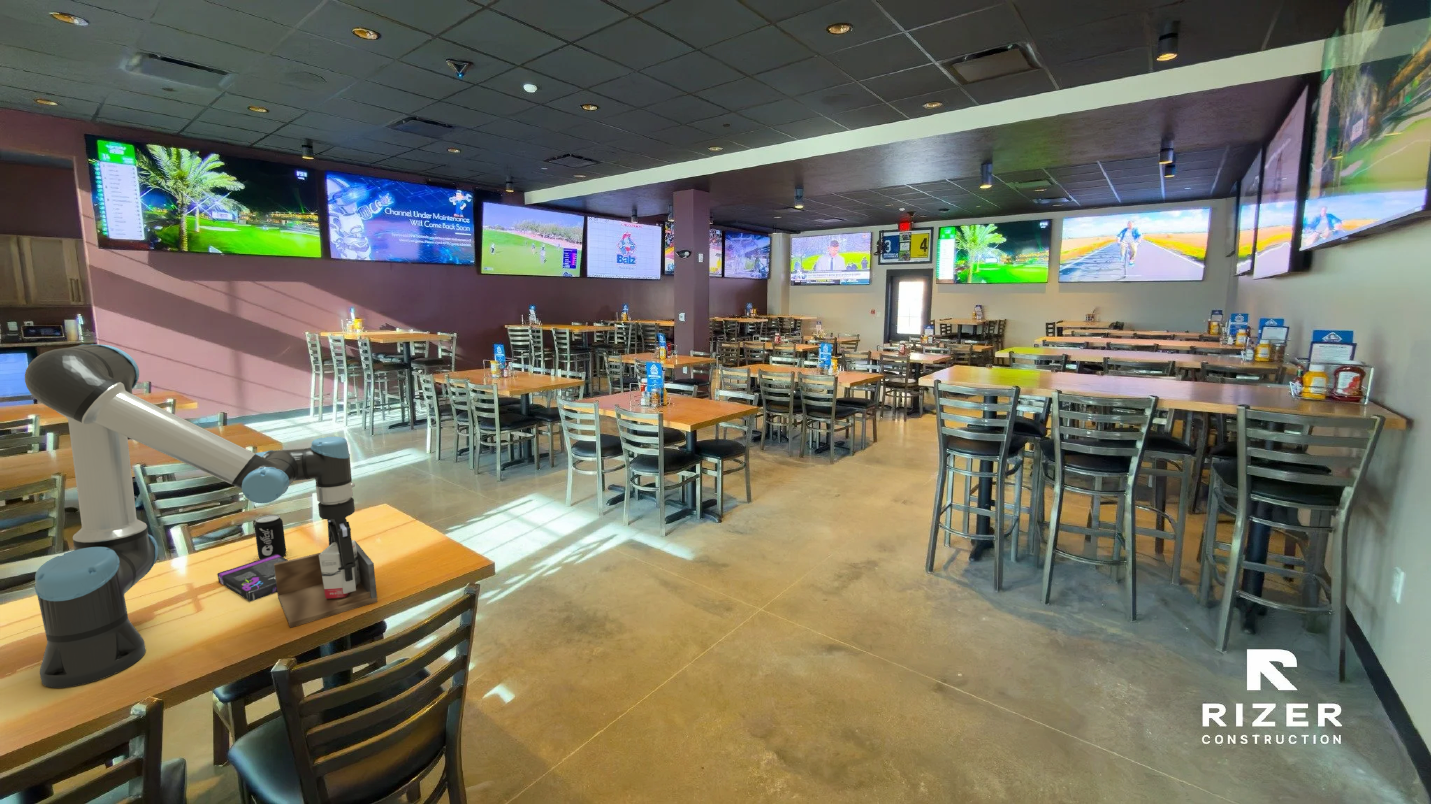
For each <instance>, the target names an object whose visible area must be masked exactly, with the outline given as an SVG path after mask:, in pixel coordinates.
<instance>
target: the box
mask: <svg viewBox="0 0 1431 804" xmlns="http://www.w3.org/2000/svg"><path fill="white" fill-rule="evenodd" d="M288 560H289V559H287V558H285V557H284V556H283V557H281V556H279V555H277V554H275V555H272V556H269V557H266V558H263V559H257V560H254V561H251V562H248V563H245V564H242V565H239V566H236V567H233V568H230V569H226V570H224V571H220V572H218V573H217V574H216V575H217V579H218V583H220V585H223V586H224V587H226V588H227V589H229V590H230V591H232V592H234V593H235V594H237V595H239V596H240V597H242V598H243V599H245V600H247V601H248V602H254V601H256V600H260V599H262V598H265V597H267V596H271V595H273V594H276V593H278V592H277V585H276V577H275V569H274V564H275V563H279V562H283V561H288Z"/></svg>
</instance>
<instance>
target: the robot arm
mask: <svg viewBox="0 0 1431 804" xmlns="http://www.w3.org/2000/svg"><path fill="white" fill-rule="evenodd" d="M139 377H140V370H139V366H138V364H137V362H136V360H135V359H134V358H133V357H132V356H131V355H130V354H129V353H127V352H126V351H124V350H122V349H121V348H118V347H116V346H112V345H108V344H107V345H106V344H97V343H96V344H94V343H89V344H79V345H75V346H71V347H64V348H55V349H52V350H48V351H44V352H43V353H41V354H39V355H37V356H36V357H35V358H33V359H32V360H31V362H30V363H29V364H28V366H27V368H26V369H25V373H24V382H25V385H26V386H25V387H26V388H27V389H28V391H29V394H31V396H32V397H33V398H34V399H36V400H37V401H38V402H40V403H42V404H43V405H44V406H46V407H48V408H50V409H51V410H54V411H55V412H56V413H58V414H59V415H61V416H63V417H65V418H66V419H67V421H68V422H67V423H68V424H67V425H68V429H69V438H70V444H71V445H70V447H71V452H72V461H73V467H74V468H73V470H74V476H75V483H76V490H77V492H76V493H77V499H78V508H79V514H80V515H79V516H80V522H81V528H80V529H79V530H78V531H76V533H74V534H73V536H72V541H73V543H72V544H73V550H71V551H68V552H65V553H63V554H61V555H57V556H54V557H53V558H51V559H49V560H48V561H46V562H45V563H42V565H41V566H39V568H38V569H37V570H36V571H35V575H34V580H35V582H34V583H35V585H34V589H35V590H34V591H35V594H36V596H37V601H38V604H39V609H40V613H41V614H40V615H41V618H42V624H43V628H44V634H45V638H46V646H45V649H44V654H43V658H42V661H41V665H40V669H39V675H40V680H41V684H42V685H43V686H45V687H46V688H47V687H48V688H54V689H59V688H61V689H62V688H63V689H64V688H70V687H71V688H72V687H76V686H82V685H86V684H89V683H90V684H91V683H93V682H96V681H100V680H102V679H106V678H108V677H110V676H113V675H115V674H117V673H119V672H120V673H121V672H122V671H124V670H125V669H128V668H130V667H131V666H133V665H134V664H136V663H137V662H139V660H141V659H142V658H143V657H144V655H145V653H146V651H147V648H146V643H145V640H144V638H143V637H142V636H141V634H140V633H139V631H138V630H137V628H135V626H134V625H133V623H132V622H131V620H130V619H129V616H128V615H129V614H128V609H127V604H126V598H125V595H126V593H127V592H128V591H129V590H130V589H132V587H134V586H135V585H136V584H137V583H138V582H139V581H140V580H141V579H144V578H145V576H146V575H148V574H149V572H150V571H151V570H152V568H153V567H154V565H155V563H156V561H157V559H158V556H159V546H158V542H157V540H156V538H155V537H154V536H153V535H151V534H149V532H148V531H149V530H148V525H147V523H146V522H144V521H142V520H140V519H139V518H137V511H136V510H137V509H136V502H135V501H136V500H135V494H134V491H135V490H134V482H133V473H132V466H131V456H130V455H131V454H130V448H129V447H130V446H129V439H131V440H132V441H135V442H138V443H139V444H142V445H144V446H146V447H148V448H151V449H152V450H155V451H157V452H159V453H162V454H164V455H166V456H168V457H171V458H173V459H174V460H177V461H179V462H181V463H183V464H185V465H188V466H190V467H193V468H195V469H197V470H199V471H201V472H203V473H206V474H208V475H210V476H213V477H214V478H217V479H219V480H221V481H223V482H226V483H228V484H230V485H232V486H234V487H237V488H238V489H240V490H241V492H242V494H243V496H244V497H245V498H246V499H247V500H248V501H250V502H253V503H255V504H268V503H269V504H270V503H272V502H274V501H277V500H278V499H279V498H280V497H282V495H284V494H286V492H287V491H288V489H289V486H290V485H292V483H293V482H295V481H305V480H306V481H307V480H315V491H316V499H317V502H318V504H317V507H318V508H317V509H318V515H319V518H321V519H322V520H326V521H327V534H328V536H327V537H328V546H330V545H331V544H332V543H333V542H336V543H337V547H338V552H339V554H340V562H341V567H340V568H338V570H341V580H342V589H343V594H346V593H349V592H353V591H356V585H355V575H354V567H355V566H356V563H355V559H354V552H353V546H352V540H353V539H352V531H351V530H352V528H351V526H350V525H351V524H350V521H348V520H347V519H346V518H347V517H349V516H351V515H353V514H354V513H355V511H356V509H355V500H354V497H353V496H354V491H353V488H354V487H355V486H356V484H355V483H354V482H352V480H353V479H352V470H351V469H352V468H351V454H350V450H349V445H348V444H349V443H348V441H347V439H346V438H345V437H342V436H325V437H319V438H315V439H314V440H312V441H311V445H310V447H308V448H307V447H306V448H297V449H296V448H295V449H293V448H292V449H281V450H267V451H260V452H253V451H251V450H249V449H246V448H244V447H242V446H241V445H239V444H236V443H235V442H232V441H231V440H228V439H226V438H224V437H222V436H220V435H218V434H216V433H214V432H211V431H209V430H207V429H206V428H203V427H201V426H199V425H198V424H195V423H193V422H191V421H189V420H187V419H184V418H182V417H181V416H178V415H176V414H174V413H173V412H170V411H169V410H166V409H164V408H161V407H159V406H158V405H156V404H154V403H151V402H149V401H147V400H145V399H143V398H141V397H139V396H137V395H135V394H133V389H134V388H135V387H136V385H137V383H138V381H139ZM128 438H129V439H128Z"/></svg>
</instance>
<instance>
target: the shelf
mask: <svg viewBox="0 0 1431 804" xmlns="http://www.w3.org/2000/svg"><path fill="white" fill-rule="evenodd" d="M355 543H356V550H357V558H358V565H359V572H360V580H361V581H360V582H359V583H358V584H357V585H356V591H353V592H350V593H349V594H348V595H347V596H346V597H342V598H328V599H326V598H325V591H324V585H323V579H322V573H321V567H320V560H319V555H320V553H321V552H318V553H314V554H309V555H305V556H300V557H297V558H292V559H287V560H288V561H283V562H279V563H275V564H274V569H275V577H276V585H277V592H276V593H277V599H278V601H279V603H280V606H281V608H282V610H283V612H284V615H285V618H286V620H287V622H288V625H289V627H290V628H295V627H299V626H301V625H304V624H307V623H312V622H314V621H318V620H321V619H325V618H327V617H331V616H334V615H339V614H340V613H344V612H347V611H348V612H349V611H350V610H351V611H352V610H354V609H357V608H360V607H366V606H368V605H371V604H375V603H377V602H378V593H377V584H376V582H377V581H376V574H375V573H376V572H375V565H374V562H373V560H371V558H370V557H369V555H367V553H366V552H365V551H364V549H363V548H362V547H361V546H360V544H359V543H358V541H356V540H355Z"/></svg>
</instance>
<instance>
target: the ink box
mask: <svg viewBox="0 0 1431 804" xmlns="http://www.w3.org/2000/svg"><path fill="white" fill-rule="evenodd" d="M355 541H356V539H355V540H353V539H352V546H353V552H354V559H355V563H356V566H355V567H354V575H355V585H357V584H358V583H359V582H360V581H361V580H360V572H359V565H358V558H357V550H356V543H355ZM319 553H320V555H319V560H320V567H321V573H322V579H323V585H324V591H325V598H326V599H328V598H342V597H346V596H347V595H348V594H349V593H350V592H349V593H346V594H343V589H342V580H341V570H338V568H340V567H341V562H340V554H339V552H338V547H337V543H336V542H333V543H332V544H331V545H330V546H329V545H328V546H327V547H326V548H324V549H323V550H322V551H320V552H319Z"/></svg>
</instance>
